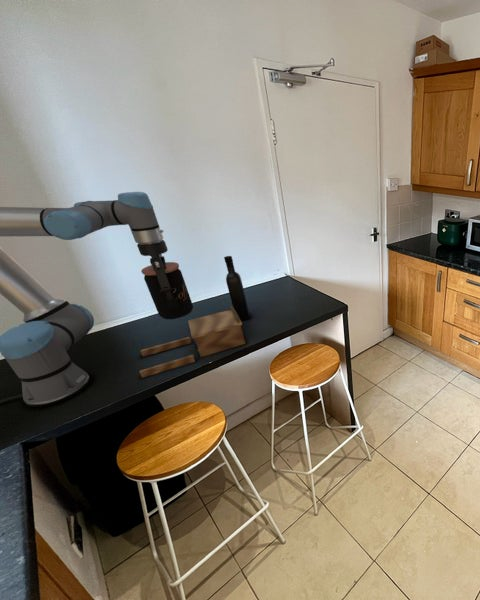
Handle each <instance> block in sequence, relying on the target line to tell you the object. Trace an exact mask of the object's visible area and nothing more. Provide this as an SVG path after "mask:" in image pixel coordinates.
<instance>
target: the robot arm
mask: <svg viewBox="0 0 480 600" xmlns="http://www.w3.org/2000/svg"><path fill="white" fill-rule="evenodd" d="M112 226H129V229H130V232H131V234H132V237H133V239H134V242H135V243H136V244H137V245H136V246H137V249H138V251H139V254H140V255H141V256H143V257H149V263H150V265H152V266H153V269H154V271H155V272H156V275H157V278H158V281H159V284H160V287H161V290H160V292H163V294H164V296H165V299H166V302H167V304H168V307H169V309H170V308H174V307H178V303H177V301H176V298H175V295H174V293H173V290H172V288H171V286H170V283H169V281H168V278H167V275H166V273H165V269H166V262H167V261H166V258H165V256H163V254H166V253H167V252H168V251H169V249H168V246H167V244H166V241H165V240H164V236H163V233H164V230H163V229H161V226H160V225H159V221H158V218H157V216H156V213H155V209H154V206H153V204H152V202H151V199H150V197H149V195H148V194H147V193H146V192H144V191H130V192H128V191H127V192H121V193H118V194H117V199H114V200H85V201H78V202H75V203H74V204H73V206H71V207H29V206H28V207H25V206H21V207H20V206H0V237H55V238H58V239H60V240H64V241H73V240H76V239H82V238H84V237H86V236H88V235H91V234H93V233H95V232H97V231H101V230H102V229H104V228H107V227H112ZM164 287H166V288H164ZM0 295H1V297H3V298H4V299H6V300H8V302H10V304H12V305H13V306H14V307H15V308H17V309H18V310H19V311H20V312H22V313H23V322H24V323H22V324H19V325H18V326H13V327H12V328H10V329H8V330H6V331H5V332H3V333H2V334H1V335H0V355H1V356H2V357H3V358H4V359H5V361H6V362H7V363H8V365H9V366H10V368H11V369H12V370H13V372H14V373H15V375H16V376H17V377H18V379H19V380H20V382H21V394H17V395H14V396H10V397H6V398H3V399H0V404H3V403H6V402H10V401H13V400H16V399H21V398H22V400H23V402H24V403H25V405H26V406H27V407H30V408H44V407H48V406H53V405H57V404H60V403H62V402H65V401H66V400H69V399H71V398H73V397H74V396H77V395H78V394H80V393H81V392H82V391H84V390H85V389H86V388H87V387H88V386H90V385H89V384H90V383H91V377H90V375H89V373H87V372H86V371H85V370H83V369H82V368H81V367H80V366H78V365H77V364H75V363H74V362H73V360H72V359H71V358H70V356H69V354H68V352H67V351H68V350H70V349H71V348H72V347H74V346H75V345H76V344H77V343H78V342H79V341H80V340H81V339H83V338H85V336H87V335H88V334H89V332H90V331H91V330H92V329H93V327H94V325H95V318H94V316H93V314H92V312H91V311H90V310H89V309H88V308H87V307H85V306H83V305H78V303H77V304H76V303H70V302H69V301H68V300H67V299H64V298H57V297H55V296H54V295H53V294H52V293H51V292H50V291H49V290H48V289H47V288H46V287H45V286H43V285H42V284H41V283H40V282H39V281H38V280H37V279H36V278H35V277H33V276H32V275H31V274H30V273H29V272H28V271H27V270H26V269H25V268H24V267H23V266H21V264H19V263H18V262H17V261H16V260H15V259H14V258H13V257H12V256H11V255H9V253H8V252H6V251H5V250H4V249H3V248H2V247H1V246H0Z"/></svg>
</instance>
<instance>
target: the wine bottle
mask: <svg viewBox="0 0 480 600" xmlns="http://www.w3.org/2000/svg"><path fill="white" fill-rule="evenodd" d="M223 259H224V263H225V265H226V269H227V274H226V275H225V276H226V277H225V282H226V287H227V290H228V294H229V297H230V301H231V305H233V307H234V309H235V311H236V313H237V315H238V317H239V319H240V320H241V321H246V320H250V318H251V315H250V310H249V306H248V301H247V298H246V294H245V293H246V292H245V289H244V285H243V281H242V277H241V275H240V273H238V272H237V271H236V269H235V265H234V262H233V261H234V259H233V256H232V255H226V256H224V257H223Z"/></svg>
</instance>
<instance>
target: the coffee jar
mask: <svg viewBox="0 0 480 600" xmlns="http://www.w3.org/2000/svg"><path fill="white" fill-rule="evenodd" d="M165 262H166V269H165V273H166V275H167V278H168V281H169V283H170V286H171V288H172V290H173V293H174V295H175V298H176V301H177V303H178V307H174V308H170V309H169V307H168V304H167V302H166V299H165V296H164V294H163V292H160V290H161V287H160V284H159V281H158V278H157V275H156V272H155V271H154V269H153V266H152V265H151V264H150V265H147V266H145V267H143V268H142V269H141V271H140V272H141V274H142V275H144V276H143V279H144V282H145V284H146V287H147V289H148V291H149V295H150V296H151V299H152V302H153V304H154V306H155V309H156V311H157V315H158V316H159V317H160V318H162V319H165V320H177V319H181V318H183V317H186V316H188V315H190V313H191V312H193V309H194V304H193V301H192V299H191V297H190V293H189V290H188V287H187V284H186V282H185V278H184V276H183V273H182V270H181V269H180V265H179V263H178V262H174V261H165ZM164 288H166V287H164Z"/></svg>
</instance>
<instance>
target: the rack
mask: <svg viewBox="0 0 480 600" xmlns="http://www.w3.org/2000/svg"><path fill="white" fill-rule="evenodd" d="M229 308H230V309H229V310H225V311H220V312H215V313H212V314H208V315H205V316H200V317H196V318H192V319H189V320H187V322H188V327H189V330H190V336H191V337H190V336H186V337H183V338H180V339H176V340H171V341H168V342H165V343H162V344H161V343H160V344H158V345H157V344H156V345H154V346H151V347H146V348H143V349H141V350H140V353H141V355H142V358H143V357H147V356H151V355H154V354H158V353H162V352H164V351H169V350H172V349H176V348H178V347H179V348H180V347H183V346H185V345H190V344H192V341H191V338H192V339H194V342H195V345H196V348H197V350H198V353H199V356H200V358H204V357H208V356H210V355H212V354H216V353H219V352H223V351H225V350H229V349H232V348H236V347H239V346H242V345H246V340H245V337H244V333H243V329H242V326H243V322H242V320H240V319H239V317H238V315H237V313H236V311H235V309H234V307H233V305H232V304H229ZM194 362H196V359H195V356H194V354H190V355H186V356H184V357H180V358H177V359H173V360H170V361H167V362H164V363H161V364H157V365H154V366H150V367H147V368H144V369H140V370H139V374H140V376H141V378H142V379H144V378H146V377H150V376H153V375H156V374H159V373H163V372H166V371H169V370H172V369H176V368H179V367H181V366H185V365H188V364H192V363H194Z"/></svg>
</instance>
